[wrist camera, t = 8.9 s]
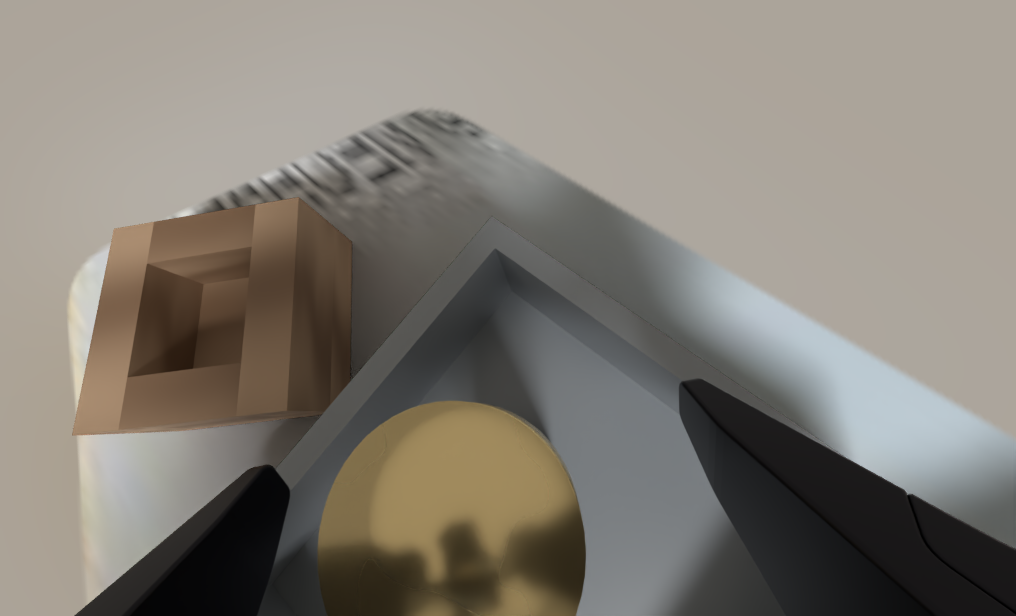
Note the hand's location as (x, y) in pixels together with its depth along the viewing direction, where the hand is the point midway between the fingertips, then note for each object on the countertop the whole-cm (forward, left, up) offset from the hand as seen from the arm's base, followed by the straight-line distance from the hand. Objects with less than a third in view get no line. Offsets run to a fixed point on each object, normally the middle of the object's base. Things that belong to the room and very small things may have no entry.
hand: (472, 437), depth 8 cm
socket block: (+5, +11, -7) cm, 14 cm away
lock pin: (-1, 0, -7) cm, 7 cm away
